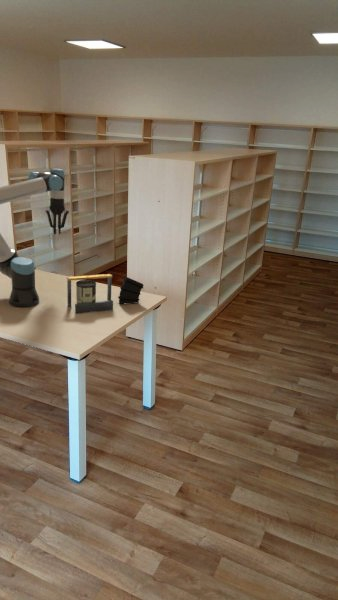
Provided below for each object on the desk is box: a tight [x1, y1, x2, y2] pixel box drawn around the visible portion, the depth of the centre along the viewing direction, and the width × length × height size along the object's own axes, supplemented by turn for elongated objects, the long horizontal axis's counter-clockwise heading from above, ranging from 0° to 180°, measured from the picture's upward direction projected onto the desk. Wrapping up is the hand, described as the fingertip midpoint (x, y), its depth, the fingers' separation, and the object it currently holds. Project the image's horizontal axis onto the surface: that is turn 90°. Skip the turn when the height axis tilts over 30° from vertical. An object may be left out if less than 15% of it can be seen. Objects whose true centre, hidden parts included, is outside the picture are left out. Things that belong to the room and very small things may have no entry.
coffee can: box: [75, 279, 97, 303], centre depth 229 cm, size 10×10×14 cm
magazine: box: [117, 276, 144, 305], centre depth 242 cm, size 4×13×15 cm, turn 114°
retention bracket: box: [66, 273, 114, 315], centre depth 229 cm, size 24×11×16 cm, turn 116°
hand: (56, 239), depth 249 cm, fingers closed
